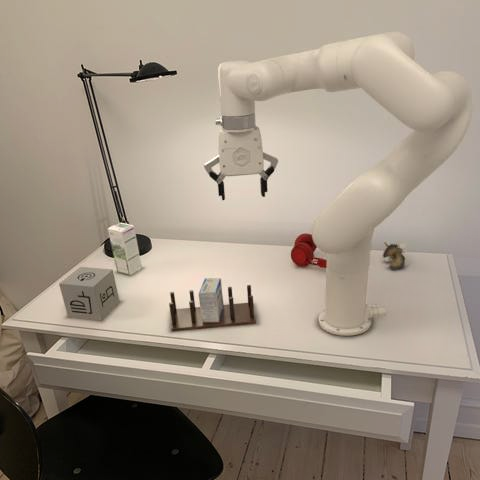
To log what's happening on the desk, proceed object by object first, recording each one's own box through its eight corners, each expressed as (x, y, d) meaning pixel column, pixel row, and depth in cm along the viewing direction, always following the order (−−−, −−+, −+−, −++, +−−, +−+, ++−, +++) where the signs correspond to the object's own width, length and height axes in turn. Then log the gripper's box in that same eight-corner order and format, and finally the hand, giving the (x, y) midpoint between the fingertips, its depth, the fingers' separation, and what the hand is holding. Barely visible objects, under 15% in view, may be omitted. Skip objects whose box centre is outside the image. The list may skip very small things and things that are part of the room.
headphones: (287, 268, 152) (355, 281, 149) (290, 246, 148) (360, 259, 145) (294, 248, 164) (357, 259, 161) (297, 227, 160) (362, 238, 157)
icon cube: (101, 320, 134) (93, 286, 129) (68, 316, 137) (58, 283, 131) (119, 302, 142) (112, 269, 137) (88, 298, 145) (80, 266, 140)
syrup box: (142, 268, 160) (134, 224, 152) (129, 276, 156) (121, 231, 148) (129, 265, 163) (120, 221, 155) (116, 272, 158) (106, 228, 151)
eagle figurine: (376, 252, 156) (376, 260, 148) (391, 233, 153) (392, 240, 145) (396, 267, 156) (398, 275, 148) (412, 248, 153) (414, 255, 145)
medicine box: (219, 323, 128) (216, 292, 123) (201, 323, 128) (198, 292, 124) (224, 307, 134) (221, 277, 130) (207, 307, 135) (204, 277, 130)
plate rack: (252, 304, 136) (250, 282, 133) (255, 323, 128) (254, 299, 124) (172, 311, 136) (169, 289, 132) (171, 331, 127) (167, 307, 124)
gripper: (200, 128, 112) (207, 205, 121) (279, 122, 112) (280, 198, 121) (200, 122, 118) (207, 195, 127) (274, 116, 119) (276, 189, 128)
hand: (243, 196), depth 124 cm, fingers open, 9 cm apart
